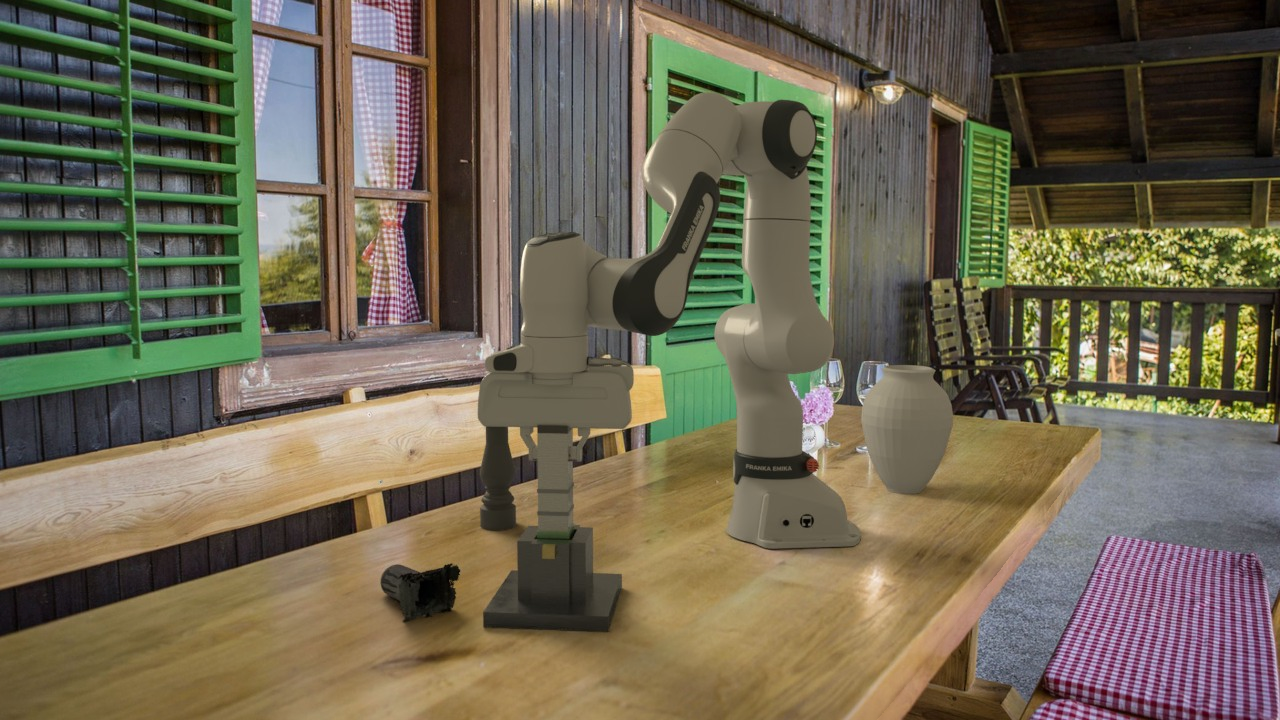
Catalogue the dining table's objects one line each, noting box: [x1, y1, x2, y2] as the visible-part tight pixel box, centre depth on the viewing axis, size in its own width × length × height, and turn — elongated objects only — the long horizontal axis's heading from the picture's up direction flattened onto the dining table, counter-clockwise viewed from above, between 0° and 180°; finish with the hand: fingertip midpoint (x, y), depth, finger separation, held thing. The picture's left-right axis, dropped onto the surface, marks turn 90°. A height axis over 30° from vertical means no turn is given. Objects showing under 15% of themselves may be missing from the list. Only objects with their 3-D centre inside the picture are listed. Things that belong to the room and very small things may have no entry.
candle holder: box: [479, 427, 517, 531], centre depth 163 cm, size 6×6×25 cm
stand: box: [482, 524, 623, 633], centre depth 126 cm, size 16×16×10 cm
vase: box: [860, 364, 954, 495], centre depth 189 cm, size 18×18×25 cm
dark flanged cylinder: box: [380, 563, 461, 622], centre depth 127 cm, size 9×8×12 cm
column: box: [536, 425, 575, 540], centre depth 125 cm, size 4×4×17 cm
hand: (555, 460), depth 124 cm, fingers closed on column, 4 cm apart
